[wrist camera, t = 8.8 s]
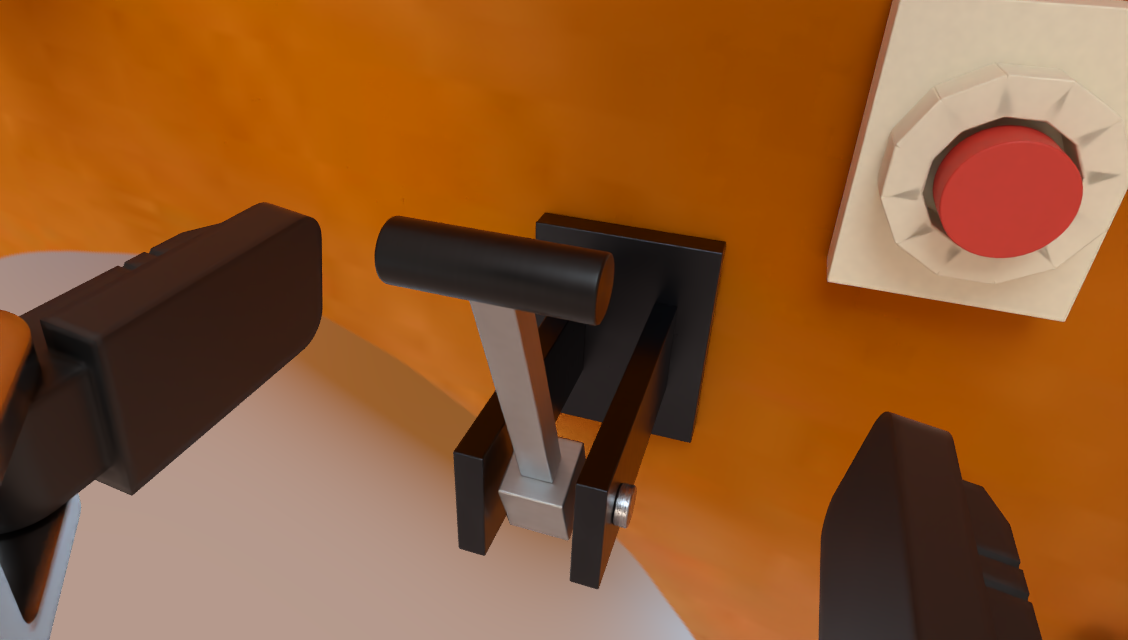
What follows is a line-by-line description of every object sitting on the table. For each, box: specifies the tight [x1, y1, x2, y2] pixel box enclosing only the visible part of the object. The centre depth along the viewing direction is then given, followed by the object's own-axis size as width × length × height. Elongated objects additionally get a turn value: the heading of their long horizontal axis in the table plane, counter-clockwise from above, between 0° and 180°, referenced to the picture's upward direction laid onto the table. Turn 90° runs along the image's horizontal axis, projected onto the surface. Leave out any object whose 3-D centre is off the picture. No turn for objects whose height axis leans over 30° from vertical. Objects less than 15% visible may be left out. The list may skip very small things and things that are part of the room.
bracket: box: [453, 213, 726, 589], centre depth 28 cm, size 10×8×13 cm
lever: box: [375, 216, 614, 540], centre depth 20 cm, size 13×5×2 cm, turn 178°
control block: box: [827, 0, 1128, 322], centre depth 23 cm, size 10×8×4 cm
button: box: [933, 125, 1083, 258], centre depth 21 cm, size 4×4×2 cm
